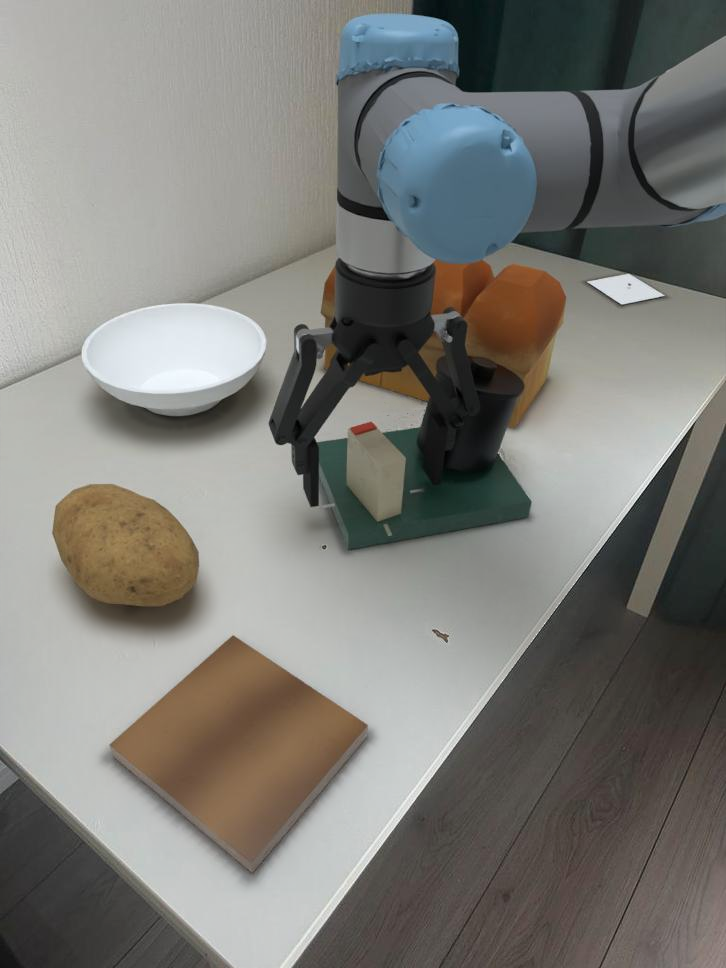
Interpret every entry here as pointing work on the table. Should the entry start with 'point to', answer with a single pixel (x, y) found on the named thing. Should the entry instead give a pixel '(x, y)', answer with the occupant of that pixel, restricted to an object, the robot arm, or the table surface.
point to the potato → (124, 546)
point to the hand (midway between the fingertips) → (372, 486)
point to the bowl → (175, 356)
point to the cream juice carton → (375, 471)
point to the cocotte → (485, 428)
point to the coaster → (625, 289)
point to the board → (240, 749)
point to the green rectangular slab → (420, 496)
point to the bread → (484, 324)
